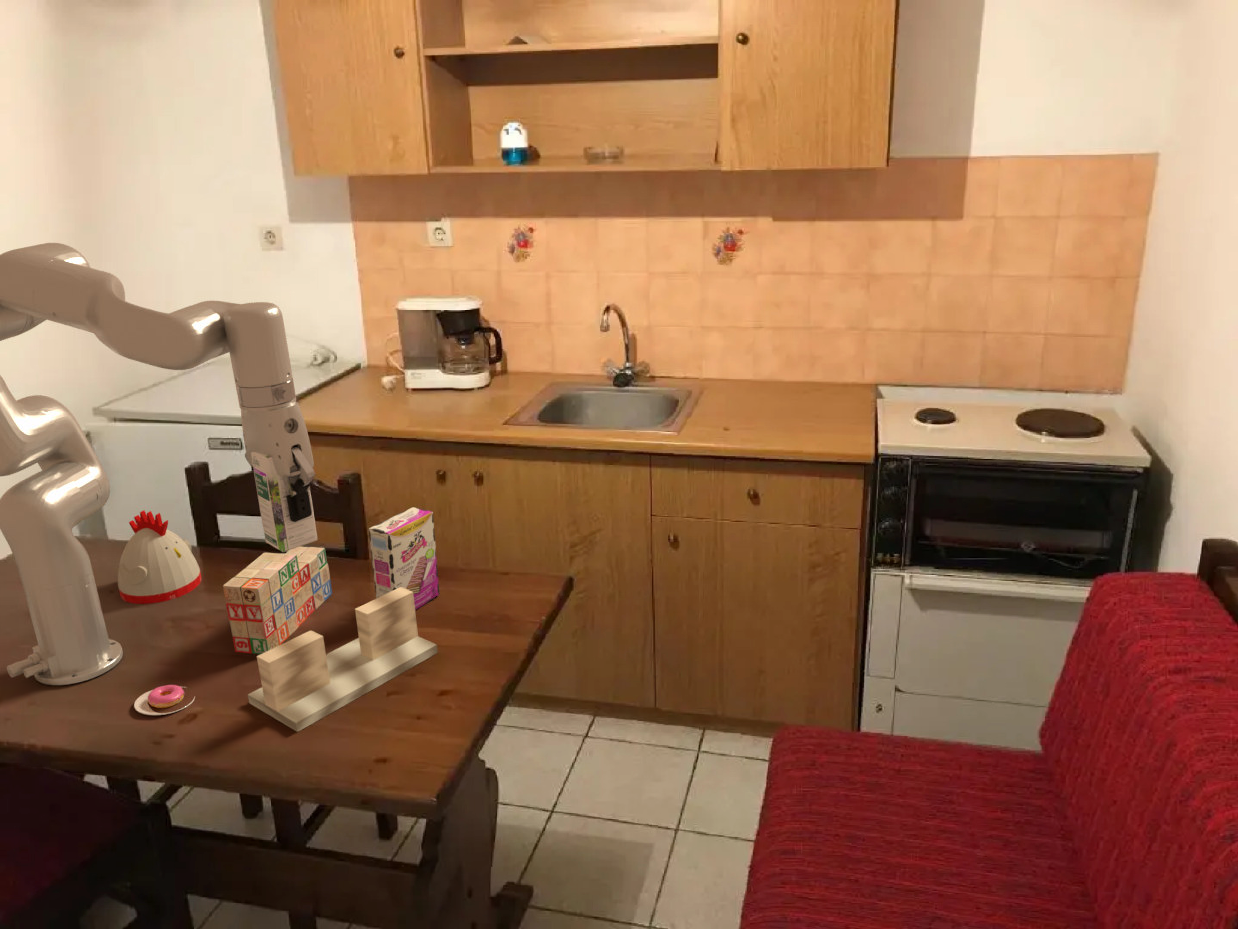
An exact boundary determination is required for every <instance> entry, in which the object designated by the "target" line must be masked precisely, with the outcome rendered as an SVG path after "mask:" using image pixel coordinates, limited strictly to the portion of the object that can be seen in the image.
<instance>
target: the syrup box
mask: <svg viewBox="0 0 1238 929" xmlns="http://www.w3.org/2000/svg"><path fill="white" fill-rule="evenodd" d="M300 450H301V449H300ZM251 457H252V463H253V469H254V473H253V475H254V481H255V486H256V492H257V493H256V494H257V499H258V505H259V511H260V512H259V513H260V517H261V524H262V527H263V534H264V540H265V544H269V545H270V546H272V547H273V548H275V549H276V550H279V551H280V552H282V553H285V552H287V551H289V550H291V549H294V548H297V547H304V546H305V545H308V544H311V543H313V542H316V541H318V533H317V527H316V520H315V514H314V506H313V500H312V495H311V489H310V490H309V491H308V493H309V499H310V505H311V511H312V515H311V516H309V517H307V518H304V519H302V520H299V521H297V522H292V521H291V520H290V514H289V509H288V503H287V497H286V496H287V495H289V493H288V490H287V487H286V485H285V482H284V480H283V477H282V476H279V475H277V472H276V469H275V466H274V462H273V459H272V456H268V455H264V454H260V453H257V452H251ZM297 470H298V469H297V467H293V468H291V469H290V472H291V473H292V472H294V471H297ZM291 479H292V482H293V484H295V482H296V480H297V479H298V475H296V476H293V477H291Z"/></svg>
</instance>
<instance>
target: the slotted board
mask: <svg viewBox="0 0 1238 929" xmlns="http://www.w3.org/2000/svg"><path fill="white" fill-rule="evenodd" d="M354 612H355V619H356V627H357V633H358V638H355V639H353V640H352V641H349V642H347V643H346V644H344V645H341V646H340V647H338V648H335V649H334V650H332V651H330V652H328V653H327V652H326V646H325V641H324V640H325V639H324V635H322V634H320V633H317V632H315V631H313V630H309V631H306V632H304V633H302V634H300V635H298V636H296V637H294V638H292V639H290V640H287V641H286V642H285V641H284V642H283V643H282V644H281V645H279V646H277V647H275V648H273V649H271V650H269V651H267V652H265V653H263V654H258V655H257V656H256V659H257V660H256V661H257V666H258V672H259V678H260V682H261V687H259V688H257V689H256V690H254V691H252V692H250V693H248V694H247V698H248V704H250V705H252V706H253V707H255V708H256V709H258V710H260V711H262V712H263V713H265V714H267V715H269V716H270V717H272V718H274V719H275V720H277V721H278V722H280V723H282V724H283V725H285V726H287V727H288V728H290V729H292V730H293V731H295V732H296V733H298V732H300V731H302V730H303V729H306V728H307V727H309V726H312V725H313V724H314V723H316V722H318V721H320V720H321V719H323V718H325V717H327V716H329V715H330V714H332V713H334V712H336V711H338V710H339V709H341V708H342V707H344V706H346V705H349V704H350V703H351V702H354V701H355V700H357V699H359V698H361V697H362V696H364V695H366V694H368V693H369V692H371V691H372V690H373V691H374V690H375V689H377V688H378V687H380V686H382V685H383V684H385V683H386V682H388V681H390V680H393V679H394V678H396V677H398V676H400V675H401V674H403V673H404V672H407V671H408V670H410V669H412V668H413V667H415V666H418V665H419V664H420V663H422V662H425V661H426V660H427V659H429V658H432V657H433V656H434V655H437V654H438V644H436V643H434V642H432V641H430V640H427V639H425V638H423V637H420V635H419V634H418V633H419V631H418V624H417V618H416V610H415V605H414V596H413V592H412V591H410V590H407V589H405V588H402V587H399V588H397V589H395V590H393V591H391V592H389V593H387V594H385V595H383V596H381V597H379V598H377V599H376V598H375V599H373V600H371V601H369V602H366V603H365V604H363V605H361V606H357V607H356V608H354Z"/></svg>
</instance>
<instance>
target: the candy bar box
mask: <svg viewBox="0 0 1238 929" xmlns="http://www.w3.org/2000/svg"><path fill="white" fill-rule="evenodd" d="M434 522H435V521H434V512H433V511H431V510H427V509H422V508H418V507H410V508H409V509H406V510H404V511H402V512H400V513H397V514H396V515H393V516H392V517H390V518H388V519H386V520H383V521H382V522H380V523H378V524H375V525H373V526H371V527H369V528H368V536H369V543H370V554H371V562H372V570H373V571H372V572H373V581H374V592H375V599H377V598H379V597H381V596H383V595H385V594H387V593H389V592H391V591H393V590H395V589H397V588H399V587H402V588H405V589H407V590H410V591H412V592H413V596H414V605H415V611H416V610H418V609H419V608H421V607H423V606H424V605H426V604H427V603H430V601H432V600H434V599H436V598H437V597H439V596H440V584H439V573H438V572H439V570H438V560H437V559H438V558H437V551H436V550H437V549H436V535H435V523H434ZM438 595H439V596H438ZM436 596H437V597H436ZM435 597H436V598H435Z"/></svg>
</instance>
